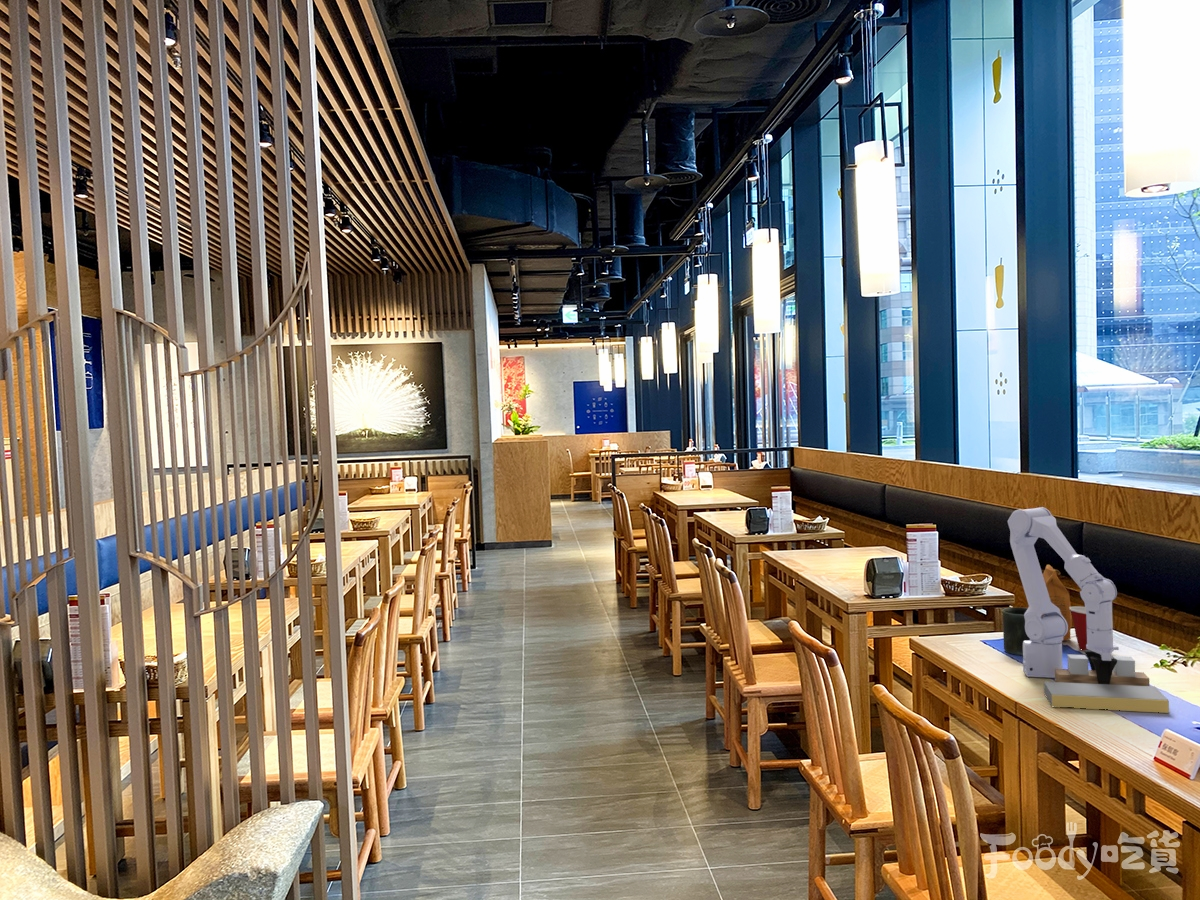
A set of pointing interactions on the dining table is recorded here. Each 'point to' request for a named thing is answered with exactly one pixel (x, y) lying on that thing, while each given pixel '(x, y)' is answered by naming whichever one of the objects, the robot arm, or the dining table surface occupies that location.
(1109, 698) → the dock
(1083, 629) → the plastic cup
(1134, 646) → the dining table surface
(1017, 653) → the mug
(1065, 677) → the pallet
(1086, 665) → the block
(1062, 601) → the coffee package
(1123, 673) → the block
